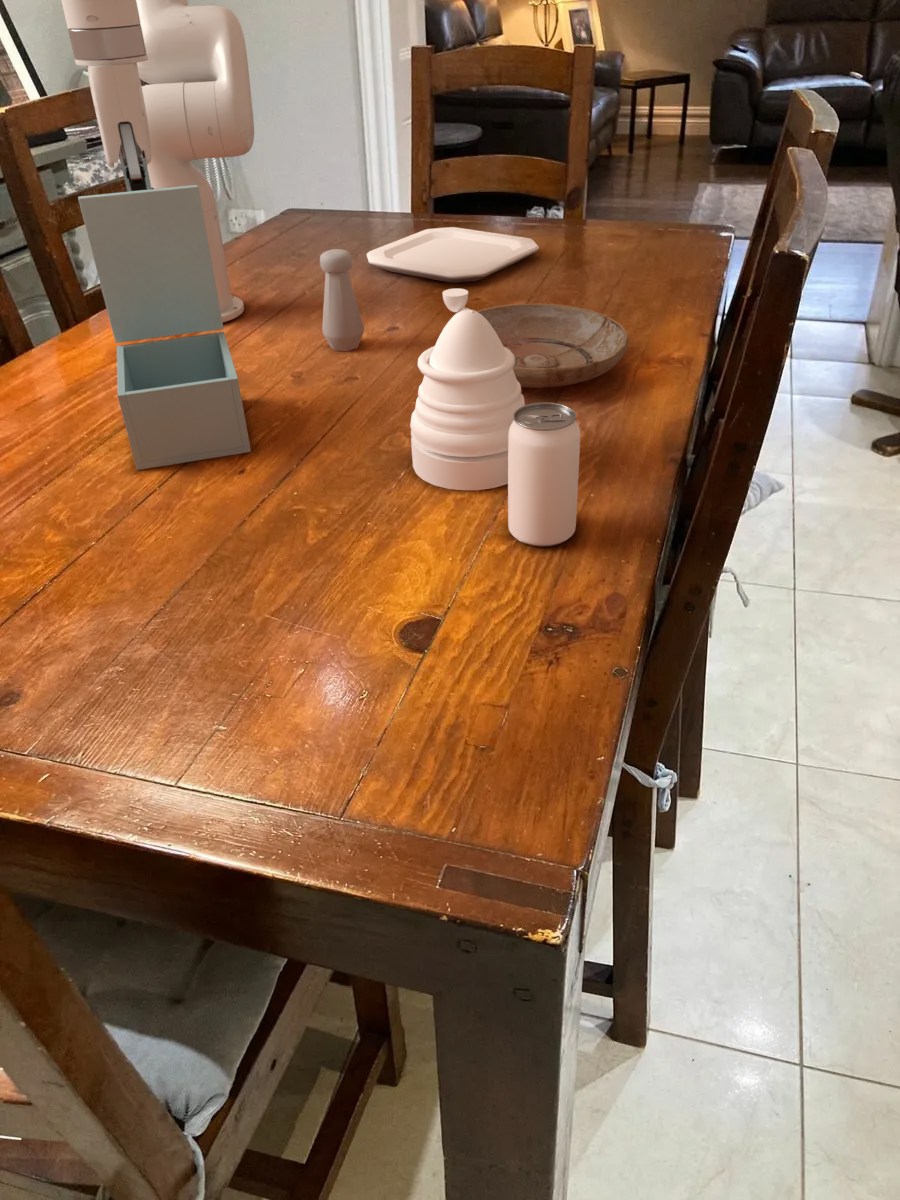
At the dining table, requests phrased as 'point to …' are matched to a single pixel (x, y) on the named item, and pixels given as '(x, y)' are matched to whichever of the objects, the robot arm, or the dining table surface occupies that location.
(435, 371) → the honey pot
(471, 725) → the dining table surface
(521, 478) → the can
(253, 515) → the dining table surface
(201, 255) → the lid
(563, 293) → the dining table surface
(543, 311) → the ceramic bowl
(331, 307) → the salt shaker
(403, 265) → the plate
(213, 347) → the chest
